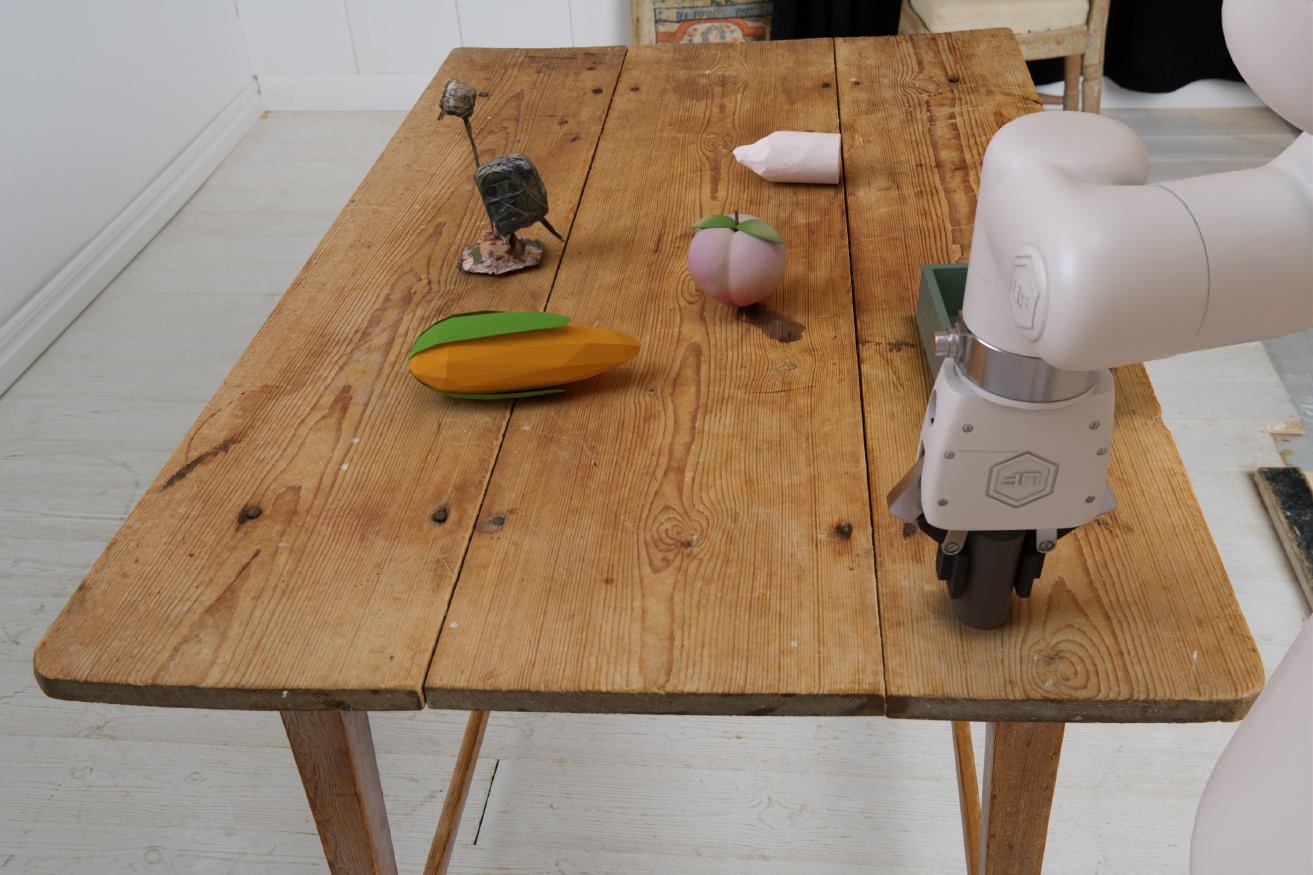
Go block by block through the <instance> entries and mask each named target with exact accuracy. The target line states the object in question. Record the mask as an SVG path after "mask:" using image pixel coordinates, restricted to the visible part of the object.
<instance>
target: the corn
mask: <svg viewBox="0 0 1313 875" xmlns="http://www.w3.org/2000/svg"><path fill="white" fill-rule="evenodd" d="M641 348H642V345H641V344H640V342H639V340H638V339H636V338H635V337H632V336H630V335H628V334H627V333H625V332H622V331H618V330H615V329H614V330H613V329H610V328H609V329H608V328H602V327H596V326H590V325H583V324H577V323H572V317H570V316H567V315H563V314H558V313H552V312H545V311H534V310H533V311H506V310H505V311H503V310H488V309H484V310H478V311H469V312H461V313H454V314H451V315H449V316H446V317H444V318H442V319H439V320H437V321H435V322H434V323H432V324H431V325H430V326H429V327H427V328H426V329H425V330H423V331H422V332H420V333H419V335H418V337H417V339H416V340H415V342H414V343H413V345H412V346H411V348H410V350H409V351H408V355H407V362H408V363H407V365H408V369H409V373H410V374H411V376H412V377H413V378H414V379H415V380H416V381H417V382H418V383H419V384H420V385H422V386H423V387H424V388H427V389H428V390H431V391H432V392H434V393H436V394H440V395H443V396H447V397H451V398H455V399H468V400H469V399H470V400H486V401H487V400H499V399H515V398H528V397H534V396H540V395H547V394H555V393H561V392H562V393H563V392H566V391H567V390H565V389H558V388H557V389H547V390H538V389H546V388H551V387H555V386H559V385H564V384H569V383H573V382H579V381H583V380H587V379H591V378H592V377H595V376H597V375H599V374H602V373H604V372H606V371H609V370H611V369H613V368H616V367H618V366H620V365H622V364H625V363H627V362H629V361H632V359H634V358H636V357H637V356H638V355H639V353H640V352H641V351H640V350H641ZM528 390H537V391H528ZM518 391H519V392H518ZM520 391H526V392H520ZM527 391H528V392H527ZM509 392H516V393H509ZM499 393H500V394H499Z"/></svg>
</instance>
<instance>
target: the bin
mask: <svg viewBox="0 0 1313 875" xmlns="http://www.w3.org/2000/svg"><path fill="white" fill-rule="evenodd" d="M968 265H969V262H958V263H957V262H956V263H929V264H921V271H920V278H919V288H918V296H917V297H918V298H917V299H918V300H917V305H916V306H917V307H916V316H915V317H916V318H915V321H916V325H917V328H918V331H919V335H920V338H921V342H922V345H923V348H924V352H925V355H926V359H927V362H928V366H929V370H930V372H931V377H932V379H933V383H934V384H935V381H936V379H937V376H938V374H939V371H940V369H941V366H942V364H943V362H944V360H945V358H946V355H943V356H933V354H932V349H931V338H932V333H933V332H934V331H946V329H953V326H954V324H955V323H957V319H958V312H959V310H962V309H963V301H964V294H965V287H966V280H967V273H968ZM1113 368H1114V367H1112V368H1108V369H1109V370H1110V372H1111V373H1112V372H1113ZM1112 374H1113V373H1112Z"/></svg>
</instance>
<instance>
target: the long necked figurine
mask: <svg viewBox="0 0 1313 875" xmlns="http://www.w3.org/2000/svg"><path fill="white" fill-rule="evenodd" d="M477 94H478V92H477V89H476V88H475V87H473V86H471V85H469V84H467V83H466V82H464V81H462V80H459V79H457V78H454V77H451V78H447V79H446V81H445V83H444V86H443V88H442V91H441V94H440V96H439V101H438V108H440V111H439V115H438V116H437V118H436V120H437V121H439V122H440V121H442V120H443V119H444V118H445V116H452V117H453V116H456V117H457V118H461V119H462V121H463V124H464V128H465V131H466V133H467V137H468V139H469V140H470V144H471V150H472V153H473V157H474V162H475V165H476V169H475V170H474V176H473V180H474V182H475V185H476V187H477V190H478V192H479V195H480V197H481V201H482V203H483V207H484V209H485V212H486V215H487V216H488V219H489V221H490V222H489V223H490V227H491V228H488V229H487V228H486V229H482V230H481V234H480V237H481V240H478V241H475V242H473V243H471V244H465V245H464V246H465V248H463V249H462V251H463V252H462V253H461V254H462V255H460V256H459V257H460V258H459V260H458V262H457V263H456V264H457V265H455V268H456V269H458V270H460V271H464V272H471V273H481V274H483V273H485V274H487V273H488V274H489V275H492V273H494V275H495V276H499V275H501V274H503V273H507V272H510V271H515V270H519V269H523V268H525V267H526V266H527V267H530V266H536V265H539V264H540V261H541V260H542V259H543V258H542V257H541V256H543V249H545V247H544V245H543V243H542V241H541V240H540V239H539V238H536V239H534V238H533V239H532V238H523V237H520V236H517V235H516V233H517V232H518V231H519V230H521V229H528V228H530V227H531V226H533V225H534V224H535V223H538V222H540V223H541V224H542V226H543V227H544V228H545V229H546V230H547V231H548V232H549V233H550V234H551V235H552V236H554V237H555V238H556V239H557V240H559V241H560V242H562V243H565V242H566V238H565V235H563V234H561V232H558V231H557V230H556V229H555V227H554V226H553V225H552V224H551V223H550V221H548V219H547V218H546V216H547V215H548V214H549V212H550V210H549V209H550V208H549V201H548V191H547V189H546V186H545V184H544V181H543V180H542V178H541V175H540V174H539V172H538V169H537V167H536V165H535V163H534V162H533V160H531V158H530V157H528V156H527V155H524V154H523V153H520V152H514V153H510V154H506V155H503V156H497V157H494V158H492V159H490V160H488V161H487V162H485V163H483V164H480V159H479V158H480V157H479V152H478V150H477V145H476V142H475V140H474V137H473V130H472V125H471V122H470V118H471V117H472V116H473V114H474V111H475V106H476V100H477V96H478V95H477Z"/></svg>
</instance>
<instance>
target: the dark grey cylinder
mask: <svg viewBox="0 0 1313 875" xmlns="http://www.w3.org/2000/svg"><path fill="white" fill-rule="evenodd" d="M1025 533H1026V530H969V532H968V534H967V537H966V540H965V545H966V547H967V551H968V555H969V562H968V568H967V574H966V579H965V585H964V591H963V596H962V597H960V599H951V600H952V601H951V609H952V613H953V614H954V616H955V617H956V618H957V619H958V620H959V621H960V622H961V623H963V624H964V625H966V626H968V627H971V628H974V629H977V630H991V629H995V628H998V627H999V626H1001V625H1002V624H1004V623H1005V621H1006V620H1007V619H1008V616H1009V611H1010V607H1011V602H1012V597H1013V592H1014V590H1015V588H1014V584H1015V579H1016V575H1017V570H1018V566H1019V561H1020V556H1021V552H1022V547H1023V542H1024V538H1025Z"/></svg>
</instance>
